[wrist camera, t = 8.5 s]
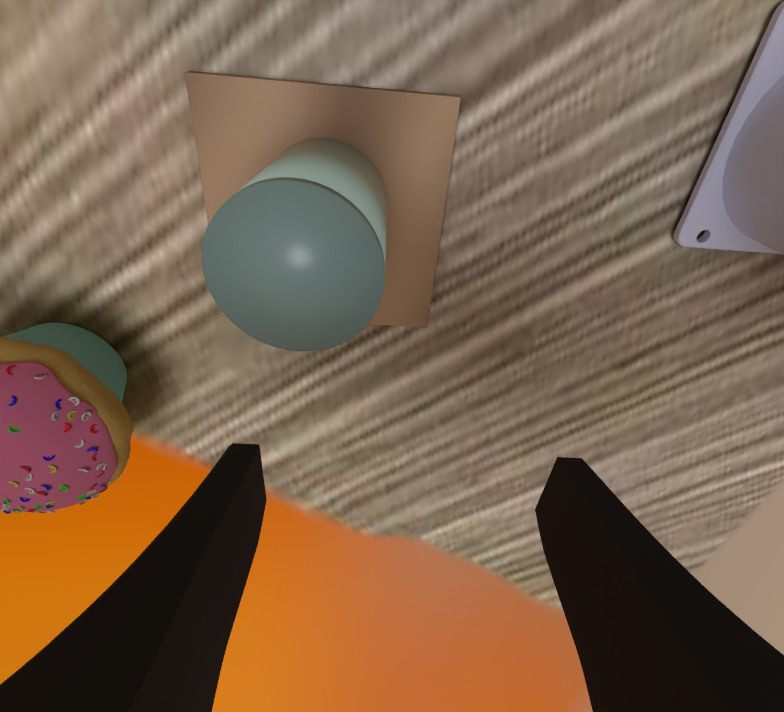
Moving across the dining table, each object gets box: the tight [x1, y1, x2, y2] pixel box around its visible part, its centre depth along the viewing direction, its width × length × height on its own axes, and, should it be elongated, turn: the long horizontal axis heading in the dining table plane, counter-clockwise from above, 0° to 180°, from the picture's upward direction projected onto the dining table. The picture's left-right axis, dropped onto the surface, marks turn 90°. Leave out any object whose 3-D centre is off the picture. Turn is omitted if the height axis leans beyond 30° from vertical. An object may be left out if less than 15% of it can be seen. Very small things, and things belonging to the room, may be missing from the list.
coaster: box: [184, 71, 461, 328], centre depth 17 cm, size 9×9×1 cm
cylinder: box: [202, 138, 388, 351], centre depth 14 cm, size 5×5×6 cm
